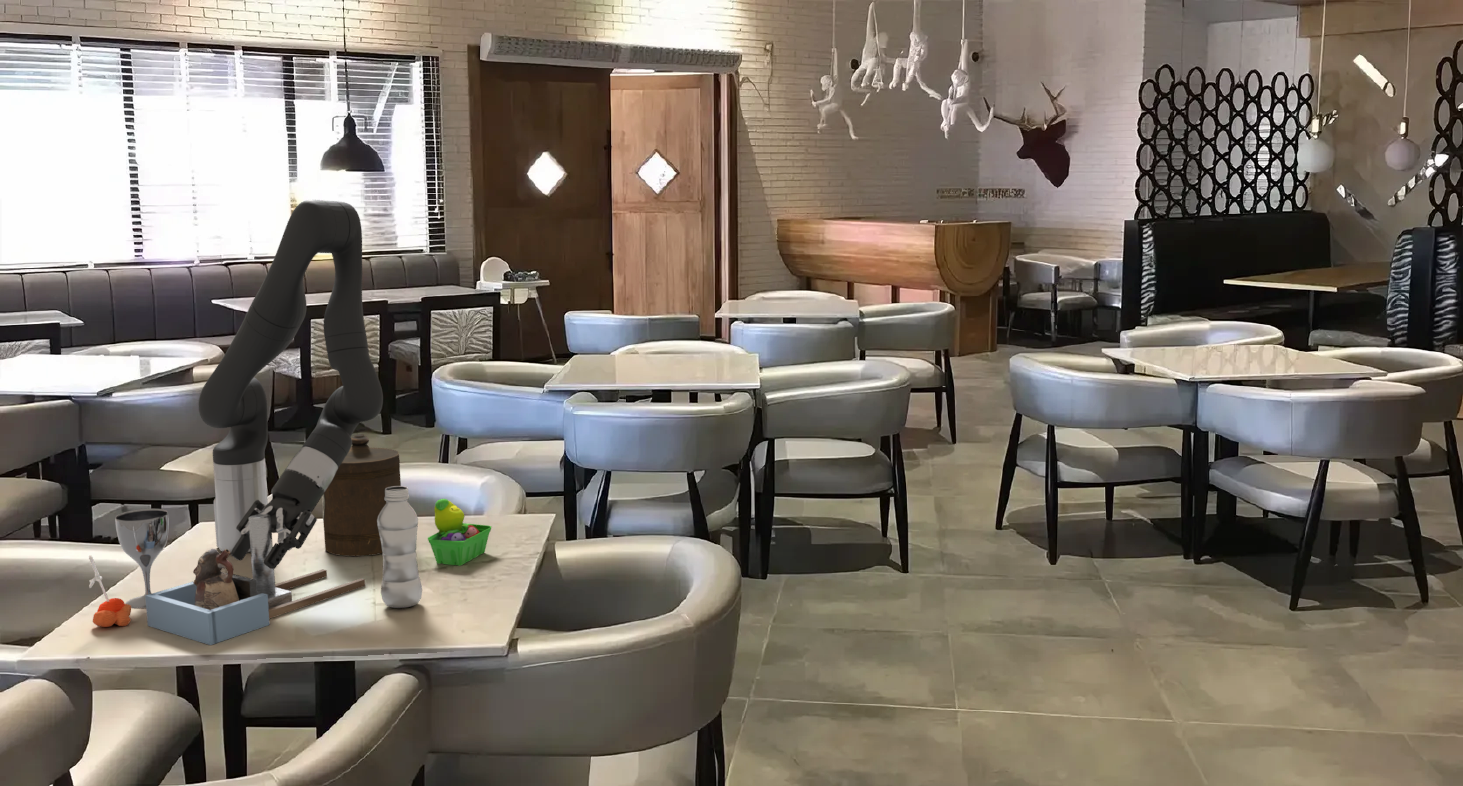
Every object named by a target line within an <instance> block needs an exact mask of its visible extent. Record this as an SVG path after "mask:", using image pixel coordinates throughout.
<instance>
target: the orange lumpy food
mask: <svg viewBox="0 0 1463 786" xmlns="http://www.w3.org/2000/svg"><path fill="white" fill-rule="evenodd" d="M88 560H89V562H90V564H91V567H92V570H93V571H94V577H93V578H92V579H89V585H88V587H89V589H92V587H93V586H94V585H95V582H98V584H99V586H100V589H101V591H102V594H103V595H104V598H105V599H106V600H105V601H104V602H102V603H101V604H99V606H98V608H97V611H96V612H94V614H93V617H92V623H93V625H95V626H97V627H98V626H99V627H103V628H108V627H109V628H110V627H113V625H114V624H115V625H117V626H119V627H126V626H128V625H129V624H130V623H131V621H132V620H131V618H130V616H131V613H132V608H131V605H128V604H125V603H126V602H125V601H124V600H123V599H121V598H119V597H113V598H109V596H108V595H107V592H106V589H105V587H104V584H103V582H102V580H103V576H101V575H100V572H99V570H98V568H97V565H96V562H95V560H94V557H93V556H92V555H89V556H88Z"/></svg>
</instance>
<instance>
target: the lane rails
mask: <svg viewBox="0 0 1463 786" xmlns="http://www.w3.org/2000/svg"><path fill="white" fill-rule="evenodd" d="M327 577H328V574H327V570H326V569H319V570H316V571H312V572H310V573H307V574H303V575H300V576H297V577H294V578H291V579H287V580H284V581H280V582H278V583H275V587H276V588H280V589H284V590H289V589H293V588H295V587H298V586H302V585H305V584H308V583H312V582H315V581H318V580H320V579H323V578H327ZM365 586H366V579H364V578H358V579H356V580H352V581H349V582H346V583H343V584H339V585H336V586H333V587H331V588H328V589H325V590H322V591H318V592H316V593H315V592H314V593H313V594H310V595H307V596H304V597H300V598H298V599H294V600H292V601H291V602H288V603H285V604H282V605H279V606H276V607H273V608H270V609H269V619H272V618H275V617H279V616H280V615H283V614H286V613H287V614H288V613H290V612H293V611H295V610H298V609H302V608H304V607H307V606H310V605H313V604H316V603H320V602H321V601H325V600H328V599H331V598H334V597H337V596H340V595H342V594H346V593H348V592H351V591H354V590H358V589H361V588H363V587H365Z"/></svg>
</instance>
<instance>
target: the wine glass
mask: <svg viewBox="0 0 1463 786" xmlns="http://www.w3.org/2000/svg"><path fill="white" fill-rule="evenodd" d="M114 518H115V520H114V521H115V530H116V535H117V539H118V543H119V544H120V547H121V549H122V551H123V552H124V553H125V554H126V555H127V556H128V557H130V558H131V559H132V560H133V561H135V562H136V563H137V565H138V566H139V568H140V569H141V571H142V572H141V573H142V576H143V581H144V591H145V593H144V595H140V596H136V597H133V598H130V599H129V600H127V601H126V602H124V603H125V604H128V605H131V609H146V598H145V595H149V594H152V590H151V569H152V566H153V563H154V561H156V559H157V558H158V556H159V555H160V554H161V552H162V551H163V550H164V548H165V547H166V545H167V543H168V538H169V537H168V536H169V527H170V525H169V513H168V510H166V509H163V508H141V509H135V510H133V509H132V510H128V511H125V512H121V513H119V514H116V516H115V517H114Z"/></svg>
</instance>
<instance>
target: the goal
mask: <svg viewBox="0 0 1463 786" xmlns="http://www.w3.org/2000/svg"><path fill="white" fill-rule="evenodd" d="M193 582H194V580H193V581H190V582H187V583H183V584H180V585H176V586H174V587H170V588H166V589H164V590H163V589H162V590H160V591H157V592H153V593H152V592H151V593H152V594H149V595H145V594H144V595H145V598H146V608H145V609H146V619H147V627H150V628H154V629H157V630H161V631H163V632H166V633H170V634H173V635H177V636H179V637H183V638H186V639H188V640H192V641H194V642H198V643H202V644H206V645H208V646H212V645H215V644H219V643H222V642H224V641H226V640H229V639H232V638H234V637H238V636H242V635H244V634H247V633H249V632H253V631H255V630H258V629H261V628H264V627H267V626H270V618H269V609H268V595H267V594H264V593H262V594H259V595H256V596H252V597H249V598H246V599H243V600H240V601H237V602H234V603H230V604H227V605H224V606H221V607H218V608H215V609H212V610H208V609H205V608H201V607H198V606H195V593H196V589H197V586H196V585H195V584H193Z"/></svg>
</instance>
